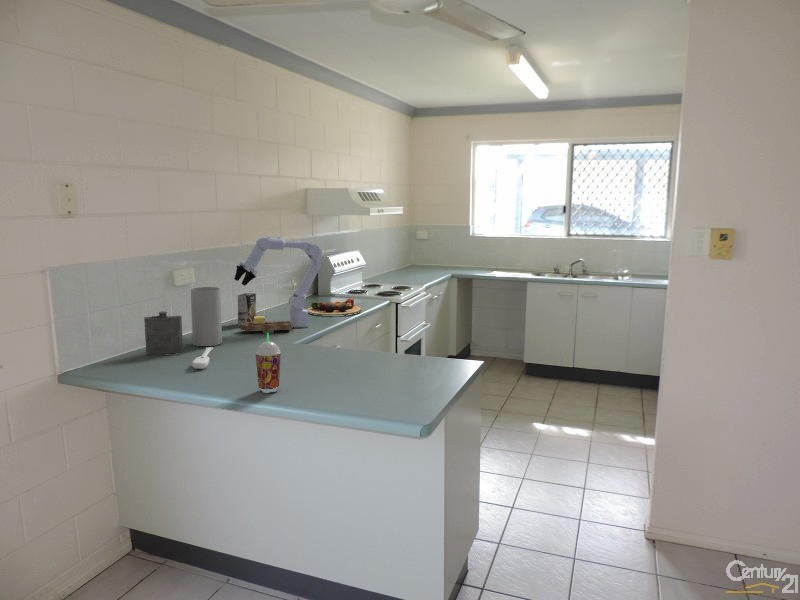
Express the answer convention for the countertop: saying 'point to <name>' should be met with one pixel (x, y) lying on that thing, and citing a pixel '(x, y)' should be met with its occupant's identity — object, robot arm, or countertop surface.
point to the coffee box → (246, 308)
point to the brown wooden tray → (266, 326)
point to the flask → (163, 334)
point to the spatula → (202, 360)
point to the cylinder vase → (206, 316)
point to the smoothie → (268, 364)
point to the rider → (259, 319)
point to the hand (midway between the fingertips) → (239, 282)
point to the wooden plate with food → (334, 308)
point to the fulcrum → (268, 331)
